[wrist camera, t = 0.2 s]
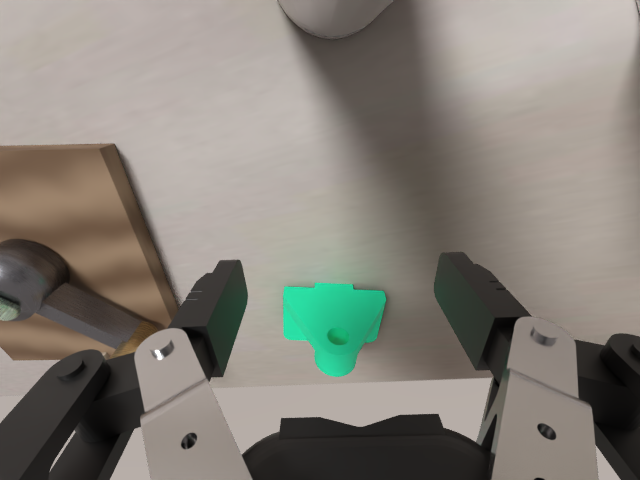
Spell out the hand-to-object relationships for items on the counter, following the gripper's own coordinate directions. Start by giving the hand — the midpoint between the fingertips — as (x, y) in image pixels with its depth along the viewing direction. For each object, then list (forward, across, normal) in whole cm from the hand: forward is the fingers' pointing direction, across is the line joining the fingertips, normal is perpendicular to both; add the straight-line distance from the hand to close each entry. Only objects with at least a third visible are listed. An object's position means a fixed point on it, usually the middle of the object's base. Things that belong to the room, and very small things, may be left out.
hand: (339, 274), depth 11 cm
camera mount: (+19, 0, +18) cm, 26 cm away
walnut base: (+18, +32, +11) cm, 38 cm away
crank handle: (+16, +28, +13) cm, 35 cm away
